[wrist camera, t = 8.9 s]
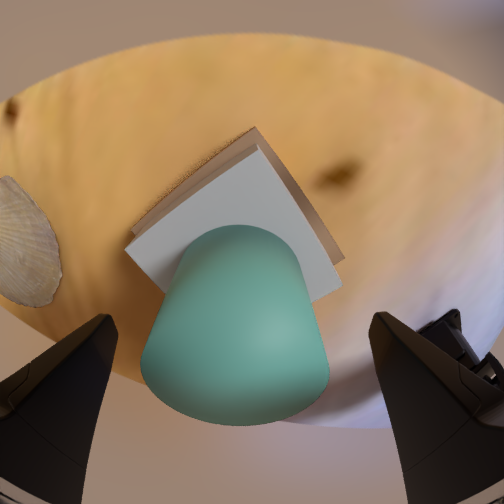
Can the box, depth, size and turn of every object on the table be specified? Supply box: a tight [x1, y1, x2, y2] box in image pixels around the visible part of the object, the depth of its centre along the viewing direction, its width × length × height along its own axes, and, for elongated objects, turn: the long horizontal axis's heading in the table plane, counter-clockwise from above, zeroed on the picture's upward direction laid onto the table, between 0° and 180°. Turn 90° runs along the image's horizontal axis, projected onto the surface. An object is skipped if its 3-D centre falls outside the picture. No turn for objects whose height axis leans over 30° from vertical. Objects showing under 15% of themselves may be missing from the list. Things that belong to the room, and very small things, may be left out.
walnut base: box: [131, 127, 345, 266], centre depth 15 cm, size 8×8×3 cm
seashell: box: [0, 176, 62, 308], centre depth 15 cm, size 12×12×3 cm
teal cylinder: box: [140, 225, 330, 426], centre depth 9 cm, size 5×5×5 cm
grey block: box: [124, 143, 343, 303], centre depth 12 cm, size 6×6×3 cm
